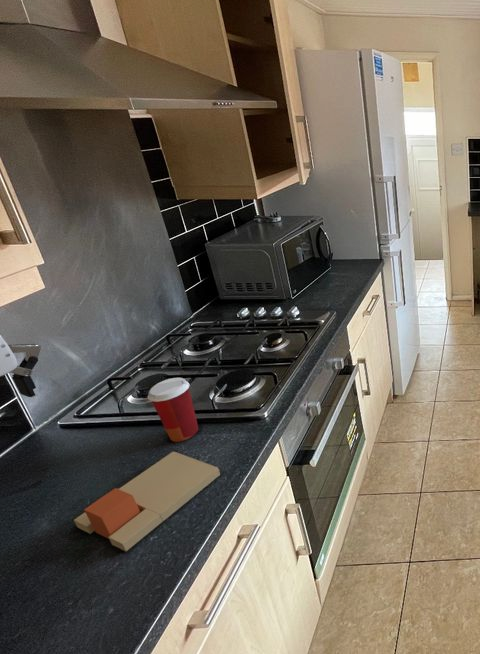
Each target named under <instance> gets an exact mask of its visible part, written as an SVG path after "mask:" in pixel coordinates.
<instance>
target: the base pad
mask: <svg viewBox="0 0 480 654" xmlns="http://www.w3.org/2000/svg"><path fill="white" fill-rule="evenodd" d="M219 476H221V472H220V469H219V467H217V466H215V465H212V464H210V463H206V462H204V461H202V460H198V459H197V458H193V457H190V456H188V455H184V454H182V453H179V452H176V451H171V452H170V453H169V454H167V455H166V456H164V457H163V458H161V459H160V460H159V461H157V462H156V463H154V464H153V465H151V466H150V467H148V468H147V469H145V470H144V471H143V472H140V474H138V475H137V476H135V477H134V478H132V479H131V480H129V481H128V482H126V483H125V484H123V485H122V486H121V487H119V488H118V489H119V490H122V491H124V492H126V493H129V494H131V495H133V497H134V499H135V502H136V504H137V506H138V508H139V511H140V513H139V514H138V515H137V516H136V517H134V518H133V519H132V520H130V521H129V522H128V523H126V524H125V525H124V526H122V527H121V528H120V529H119V530H117V531H116V532H115V533H113V534H112V535H111V536H109V541H110V543H111V546H114V547H115V548H117V549H120V550H122V551H124V552H128V551H129V550H130V549H131V548H132V547H134V546H136V544H138V543H139V542H140V541H141V540H142V539H144V537H146V536H147V535H148V534H149V533H151V532H152V531H154V529H156V528H157V527H158V526H159V525H160V524H163V522H164V521H165V520H167V519H168V518H169V517H171V516H172V515H173V514H174V513H175V512H176V511H178V510H179V509H180V508H182V507H183V506H184V505H185V504H186V503H188V502H189V501H190V500H191V499H193V498H194V497H195V496H196V495H197V494H199V493H200V492H201V491H202V490H204V489H205V488H206V487H207V486H209V485H210V484H211V483H212V482H213V481H215V480H216V479H217V478H218V477H219ZM73 522H74V524H75V526H76V528H78V529H80V530H81V531H84V532H86V533H88V534H89V535H91V534H92V533H94V532H95V530H94V528H93V526H92V524H91V522H90V520H89V518H88V516H87V515H86V513H85V512H83V513H82V514H80V515H79V516H77V517H75V518H74V519H73Z"/></svg>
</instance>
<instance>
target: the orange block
mask: <svg viewBox="0 0 480 654" xmlns="http://www.w3.org/2000/svg"><path fill="white" fill-rule="evenodd" d="M83 510H84V513H86V515H87V516H88V518H89V520H90V522H91V524H92V526H93V528H94V530H95V531H94V532H95V533H96V534H98V535H100V536H102V537H104V538H106V539H107V540H108V539H109V536H111V535H112V534H113V533H115V532H116V531H117V530H119V529H120V528H121V527H122V526H124V525H125V524H126V523H128V522H129V521H130V520H132V519H133V518H134V517H136V516H137V515H138V514H139V513H141V512H140V511H139V508H138V506H137V504H136V502H135V499H134V497H133V495H131V494H129V493H126V492H124V491H122V490H119V488H117V487H115V488H113V489H111V490H110V491H109V492H107V493H106V494H105V495H102V496H101V497H100V498H98V499H97V500H96V501H95V502H92V503H91V504H90V505H88V506H87V507H86V508H84V509H83ZM109 540H110V539H109Z"/></svg>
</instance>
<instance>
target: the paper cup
mask: <svg viewBox="0 0 480 654" xmlns="http://www.w3.org/2000/svg"><path fill="white" fill-rule="evenodd" d="M190 386H191V385H190V383H189V382H188V381H187V380H186V379H185V378H183V377H172V378H167V379H164V380H162V381H160V382H158V383H156V384H155V385H153V386H152V387H151V388H150V390H149V391H148V394H147V400H148V401H151V403H152V404H153V407H154V409H155V411H156V413H157V415H158V417H159V420H160V422H161V423H162V426H163V427H164V430H165V432H166V433H167V436H168V437H169V440H171V441H172V442H175V443H177V442H179V443H180V442H183V441H186V440H189V439H190V438H192V437H193V436H195V435H196V434H197V433H198V431H199V425H198V421H197V416H196V412H195V411H196V410H195V409H194V403H193V399H192V395H191V394H192V393H191V391H190Z"/></svg>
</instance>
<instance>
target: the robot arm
mask: <svg viewBox="0 0 480 654" xmlns="http://www.w3.org/2000/svg"><path fill="white" fill-rule="evenodd" d="M41 347H42V346H41V345H40V344H36V343H23V344H22V343H21V344H17V343H16V344H8V343H7V341H5V339H4V338H3V336H2V335H1V334H0V378H1V377H4V376H5V375H7V374H12V376H11V378H12V380H13V382H14V384H15V386H16V388H17V390H18V393H19V394H20V395H22V396H23V397H24V396H25V397H27V398H34V397H35V396H36V393H35V389H37V387H36V385H35V382H34V380H33V377H32V376H31V375H32V374H33V370H34V368H35V366H36V365H37V364H38V362H39V356H40V352H41ZM15 353H20V354H21V353H25V356H24V358H23V359H22V360H21V361H20V363H19V364H18V359H17V358H16V356H15Z"/></svg>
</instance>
